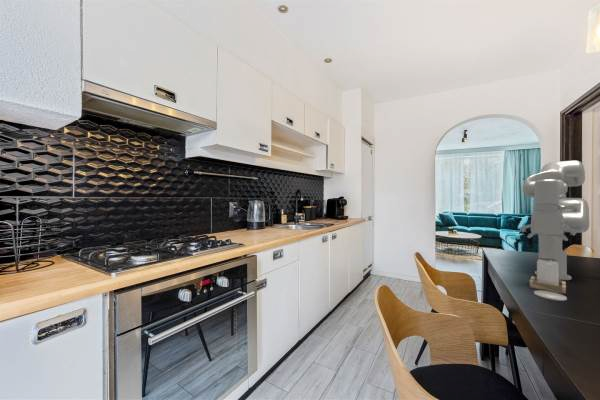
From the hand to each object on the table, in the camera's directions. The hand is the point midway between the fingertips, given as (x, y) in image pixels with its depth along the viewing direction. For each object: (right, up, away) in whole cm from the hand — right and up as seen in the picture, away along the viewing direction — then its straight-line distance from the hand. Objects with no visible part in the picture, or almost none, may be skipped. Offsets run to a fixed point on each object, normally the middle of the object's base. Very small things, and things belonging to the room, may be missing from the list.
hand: (547, 248), depth 106 cm
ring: (0, -17, 0) cm, 17 cm away
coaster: (-8, -17, -9) cm, 21 cm away
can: (0, -17, 0) cm, 17 cm away
